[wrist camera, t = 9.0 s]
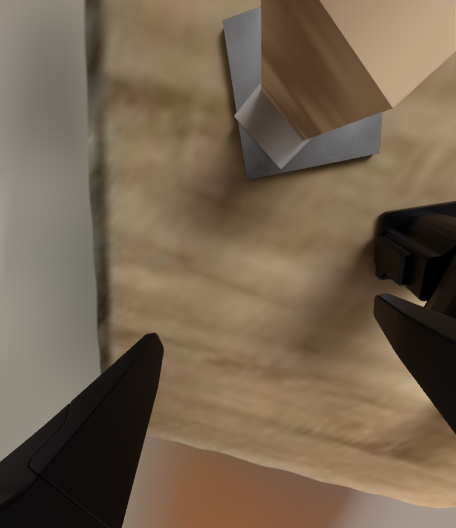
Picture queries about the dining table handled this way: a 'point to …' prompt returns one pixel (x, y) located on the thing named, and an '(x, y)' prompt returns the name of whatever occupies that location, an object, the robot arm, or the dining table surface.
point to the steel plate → (247, 80)
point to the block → (340, 64)
